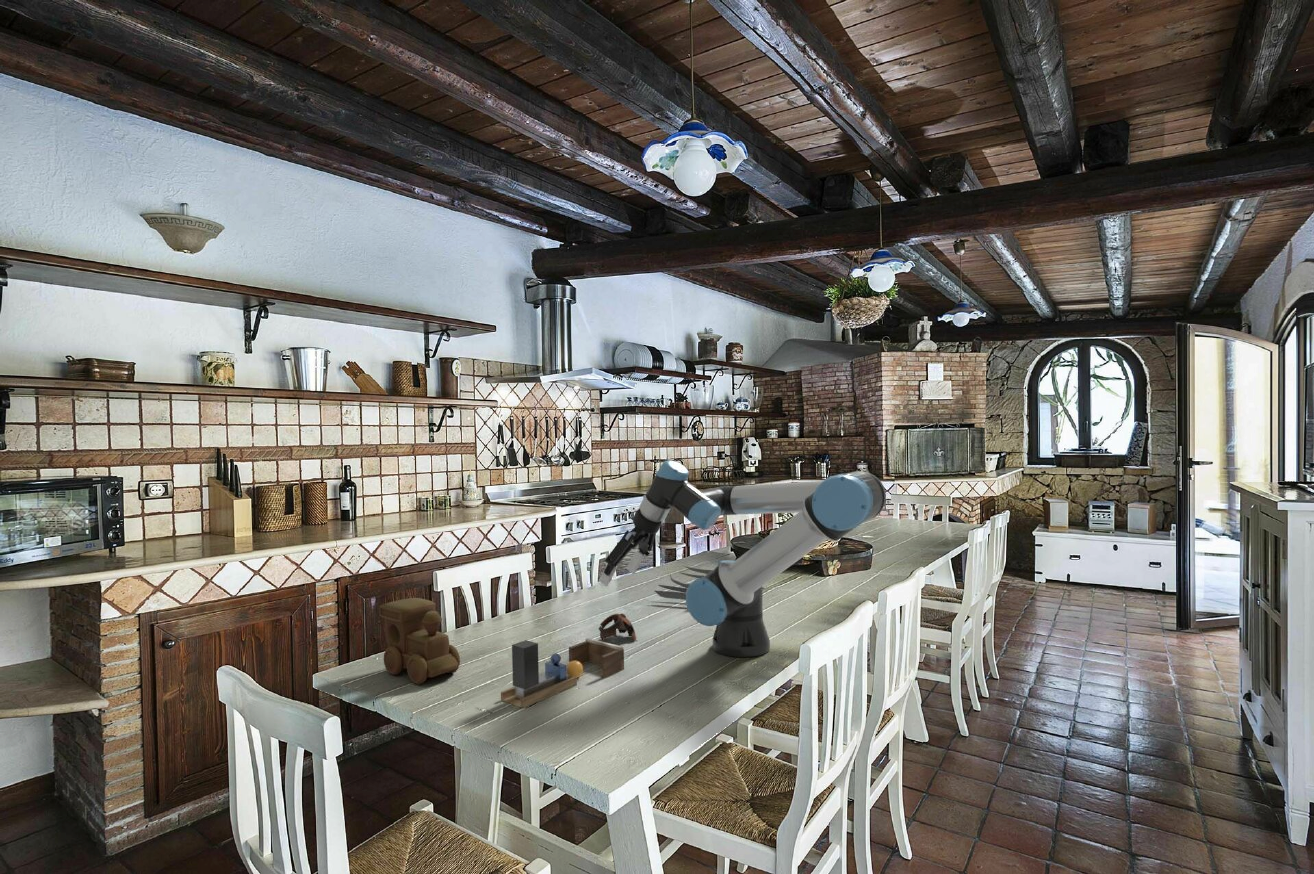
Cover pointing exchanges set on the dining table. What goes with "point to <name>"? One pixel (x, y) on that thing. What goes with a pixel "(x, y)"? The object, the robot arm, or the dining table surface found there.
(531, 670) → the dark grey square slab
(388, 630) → the wooden toy train
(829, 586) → the dining table surface
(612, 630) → the brown curved piece
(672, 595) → the knife set
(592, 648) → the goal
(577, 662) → the ball
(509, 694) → the track
